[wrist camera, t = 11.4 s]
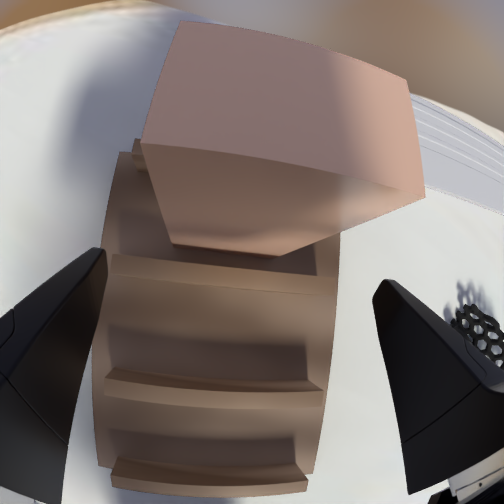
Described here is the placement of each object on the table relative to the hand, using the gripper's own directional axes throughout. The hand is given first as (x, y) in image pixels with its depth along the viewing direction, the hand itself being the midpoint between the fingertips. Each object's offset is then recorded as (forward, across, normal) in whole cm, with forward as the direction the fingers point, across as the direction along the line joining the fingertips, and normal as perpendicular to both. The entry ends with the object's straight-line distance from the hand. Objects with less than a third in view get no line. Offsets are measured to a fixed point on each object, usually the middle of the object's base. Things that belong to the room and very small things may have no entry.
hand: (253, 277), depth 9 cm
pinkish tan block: (+9, 0, +4) cm, 10 cm away
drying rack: (+5, 0, +9) cm, 10 cm away
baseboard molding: (+19, -22, -4) cm, 29 cm away
